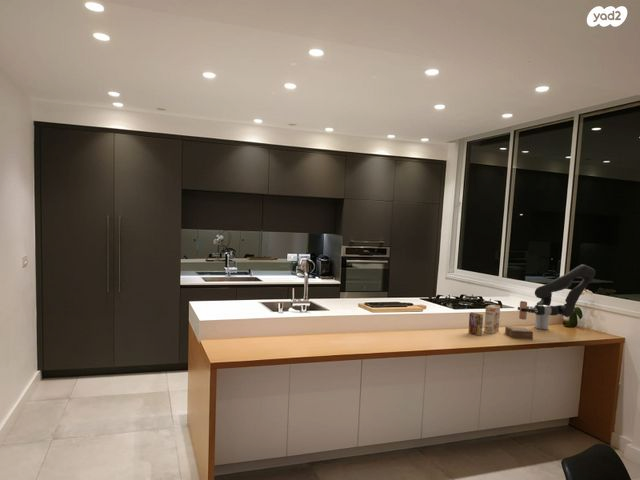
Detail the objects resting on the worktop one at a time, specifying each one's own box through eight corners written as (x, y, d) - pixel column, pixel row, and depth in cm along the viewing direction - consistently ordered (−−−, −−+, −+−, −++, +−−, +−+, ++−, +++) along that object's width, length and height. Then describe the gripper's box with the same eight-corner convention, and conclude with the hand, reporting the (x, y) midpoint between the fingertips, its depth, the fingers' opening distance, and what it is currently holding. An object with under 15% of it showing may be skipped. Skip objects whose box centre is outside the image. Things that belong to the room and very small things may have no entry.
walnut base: (505, 333, 333) (505, 326, 333) (523, 334, 333) (524, 327, 333) (512, 338, 319) (513, 330, 319) (532, 339, 319) (533, 331, 319)
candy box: (482, 335, 323) (483, 314, 323) (479, 335, 321) (480, 314, 320) (471, 332, 330) (472, 312, 330) (468, 333, 328) (469, 312, 327)
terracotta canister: (517, 318, 327) (518, 300, 327) (524, 318, 327) (525, 301, 327) (520, 319, 323) (521, 302, 322) (527, 319, 323) (528, 302, 322)
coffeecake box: (493, 334, 328) (495, 308, 328) (483, 332, 332) (485, 306, 332) (499, 331, 340) (500, 305, 339) (489, 329, 344) (491, 304, 344)
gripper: (538, 303, 332) (515, 302, 332) (548, 306, 318) (524, 305, 318) (537, 313, 332) (514, 312, 332) (547, 317, 318) (523, 316, 318)
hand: (519, 309), depth 325 cm, fingers closed on terracotta canister, 4 cm apart
